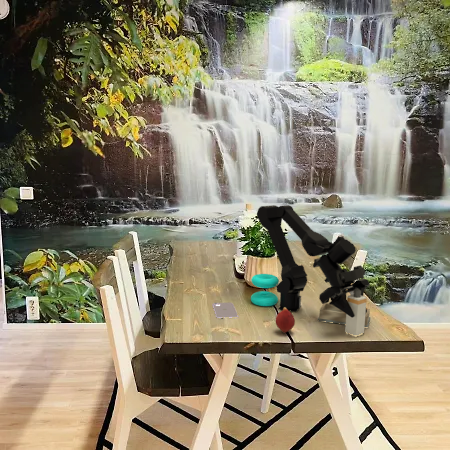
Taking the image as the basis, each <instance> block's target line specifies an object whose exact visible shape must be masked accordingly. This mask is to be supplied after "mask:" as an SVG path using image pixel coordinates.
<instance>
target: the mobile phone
mask: <svg viewBox="0 0 450 450" xmlns="http://www.w3.org/2000/svg"><path fill="white" fill-rule="evenodd" d="M213 308H214V309H213ZM212 309H213V311H215V312H214V315H215V314H216V315H215V318H216V317H217V318H222V317H224V318H225V317H229V318H232V317H238V318H239V315H237V314H238V311H237V309H236V307H235V306H234V303H233V302H213V303H212ZM217 318H216V319H217Z"/></svg>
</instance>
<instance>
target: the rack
mask: <svg viewBox="0 0 450 450" xmlns="http://www.w3.org/2000/svg"><path fill="white" fill-rule="evenodd" d="M329 303H330V302H328V303H325V304H322V305H321V307H320V308H319V316H318V317H317V321H318V320H319V321H318V322H321V321H326V322H325V323H327V322H333V323H340V324H346V313H344V312H343V311H341V310H340V309H338V308H337V307H335V306H333V305H330V304H329ZM366 309H367V312H366V313H365V326H364V327H368V326H369V327H370V323H369V322H371V316H370V311H371V310H370V308H368V307H366ZM333 323H332V324H333ZM340 324H339V325H340ZM369 327H368V328H369Z"/></svg>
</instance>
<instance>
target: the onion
mask: <svg viewBox="0 0 450 450" xmlns="http://www.w3.org/2000/svg"><path fill="white" fill-rule="evenodd" d="M295 321H296V320H295V317H294V315H293V314H292V311H288V310H287V309H286V308H283V310H280V312H279V313H277V315H276V317H275V325H276V326H277V328H278V329H279V330H280V331H281V332H282V333H284V334H285V333H287V332H290V331H291V330H292V329H293V328H294V327H295V323H296V322H295Z"/></svg>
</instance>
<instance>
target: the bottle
mask: <svg viewBox="0 0 450 450" xmlns="http://www.w3.org/2000/svg"><path fill="white" fill-rule="evenodd" d="M346 299H347V301H348V303H349V305H350V307H351V309H352V311H353V313H354V315H355V316H354V317H353V318H352V317H350V316H349V315H347V314H346V325H345V328H344V329H345V330H344V333H345V332H347V333H350V334H353V335H359V334H361V333H364V334H365V328H364V326H365V313H366V308H367V299H368V298H367V296H364V295H363V296H361V290H359V289H355V290H354V294H353V295H350V294H349V295H347V296H346Z"/></svg>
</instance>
